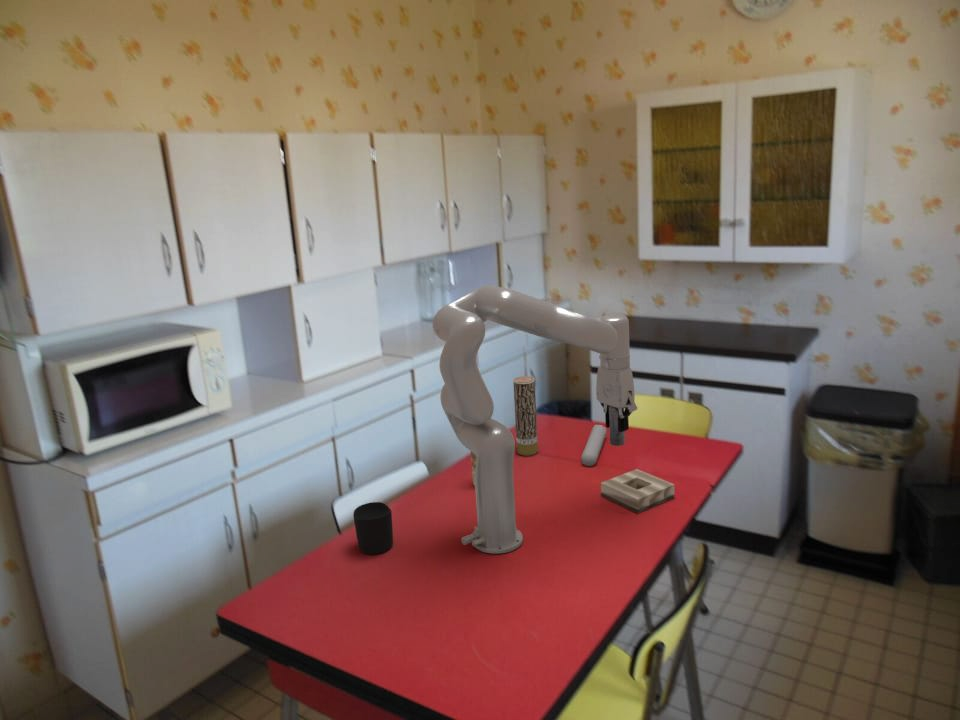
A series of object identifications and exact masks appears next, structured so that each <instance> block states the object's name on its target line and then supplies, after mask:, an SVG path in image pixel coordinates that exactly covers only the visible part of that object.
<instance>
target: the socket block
mask: <svg viewBox="0 0 960 720" xmlns="http://www.w3.org/2000/svg"><path fill="white" fill-rule="evenodd" d="M600 492H601V493H600V495H601V497H603V498H605V499H607V500H609V501H612V502H614V503H616V504H617V505H619V506H622V507H623V508H626V509H628V510H629V511H632V512H634V513H636V514H640V513H643V512H644V511H647V510H650V509H652V508H654V507H656V506H658V505H661V504H663V503H666V502H667V501H670V500H672V499H675V483H672V482H670V481H667V480H666V479H665V480H664V479H662V478H660V477H657V476H655V475H653V474H650V473H648V472H645V471H643V470H640V469H638V468H635V469H633V470H631V471H628V472H625V473H623V474H620V475H617V476H615V477H612V478H610V479H607V480H604V481H602V482H600Z"/></svg>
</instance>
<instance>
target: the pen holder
mask: <svg viewBox="0 0 960 720" xmlns="http://www.w3.org/2000/svg"><path fill="white" fill-rule="evenodd" d="M352 516H353V521H354V527H355V534H356V540H357V544H358V549H359V551H360V552H361V553H362V554H364V553H365V554H364V555H369V554H370V556H373V555H374V556H376V555H381V554H383V553H386V552H388V551H389V550H390V549H391V548H392V546H393V545H394V533H393V514H392V509H391V508H390V506H388V505H387V504H386V503H384V502H381V501H373V502H367V503H364V504H361V505H358V506H357V507H356V508H355V509H354V510H353V515H352Z"/></svg>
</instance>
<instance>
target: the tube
mask: <svg viewBox="0 0 960 720" xmlns="http://www.w3.org/2000/svg"><path fill="white" fill-rule="evenodd" d="M607 429H608V428H607V427H606V426H604V425H602V424H594V426H593V427H592V428H591V431H590V434H589V437H588V439H587V442H586V443H585V446H584V450H583V452H582V455H581V456H580V458H581V459H580V460H581V464H583V465H584V466H586V467H593V466H595V464H596V463H597V462H598V458H599V456H600V452H601V450H602V448H603V444H604V442H605V439H606V437H607V434H608V433H607Z"/></svg>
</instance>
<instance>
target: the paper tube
mask: <svg viewBox="0 0 960 720" xmlns="http://www.w3.org/2000/svg"><path fill="white" fill-rule="evenodd" d="M513 399H514V401H513V402H514V419H515V421H514V422H515V437H516V438H515V439H516V451H517V453H518V455H520V456H524V457H529V456H535V455H536V454H537V453H538V451H539V447H538V427H537V426H538V425H537V423H538V421H537V404H536V403H537V402H536V381H535V377H533V376H528V375H527V376H526V375H525V376H518V377H515V378H513Z"/></svg>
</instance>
